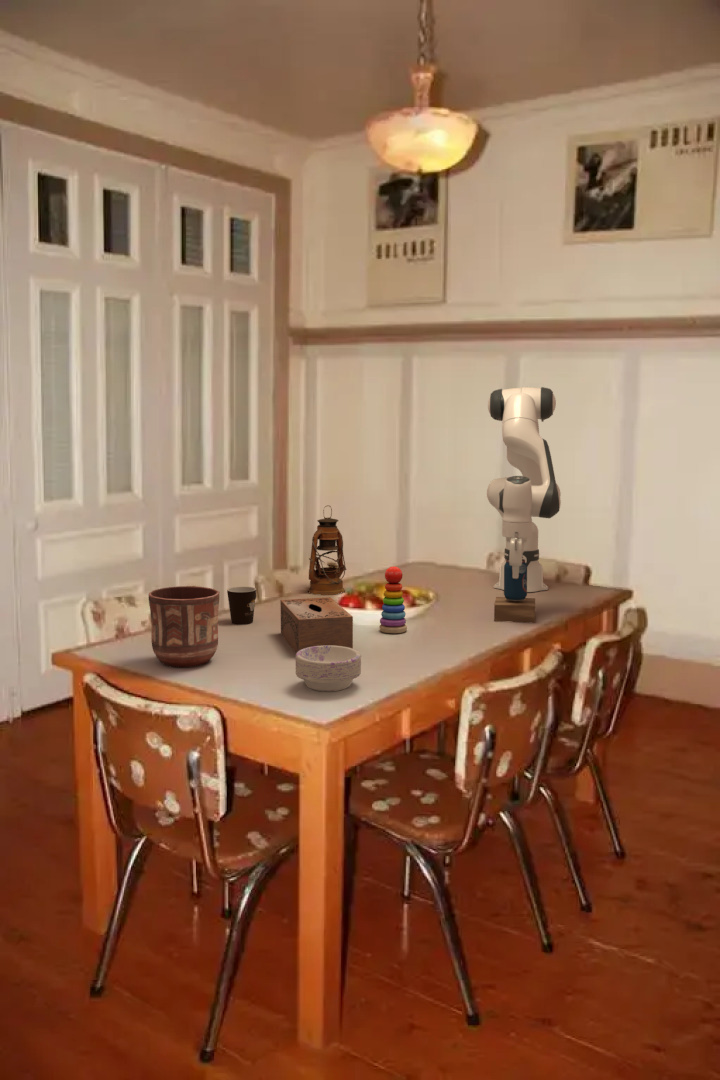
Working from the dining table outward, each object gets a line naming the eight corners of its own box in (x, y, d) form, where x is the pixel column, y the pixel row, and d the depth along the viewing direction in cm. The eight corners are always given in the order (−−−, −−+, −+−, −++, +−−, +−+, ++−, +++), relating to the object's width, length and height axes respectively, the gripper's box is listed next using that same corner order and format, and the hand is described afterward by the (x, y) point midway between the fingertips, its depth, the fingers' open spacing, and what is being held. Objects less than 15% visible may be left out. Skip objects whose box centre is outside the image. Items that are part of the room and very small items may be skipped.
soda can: (529, 601, 294) (529, 562, 292) (506, 601, 294) (506, 562, 292) (524, 596, 301) (524, 557, 299) (502, 596, 301) (502, 558, 299)
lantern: (330, 585, 349) (330, 502, 344) (356, 590, 340) (356, 504, 335) (295, 592, 336) (294, 505, 332) (322, 597, 328) (321, 508, 323)
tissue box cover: (280, 634, 278) (280, 599, 276) (330, 631, 282) (330, 597, 280) (299, 657, 253) (298, 619, 252) (352, 653, 257) (352, 616, 256)
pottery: (152, 673, 237) (151, 601, 235) (147, 655, 254) (145, 587, 251) (225, 668, 242) (224, 597, 240) (215, 651, 259) (214, 584, 256)
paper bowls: (346, 699, 218) (346, 664, 216) (284, 691, 223) (284, 657, 222) (370, 680, 232) (370, 648, 230) (312, 674, 237) (311, 642, 236)
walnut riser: (495, 612, 305) (496, 596, 304) (534, 614, 303) (535, 598, 302) (494, 621, 293) (494, 604, 292) (534, 622, 291) (535, 606, 290)
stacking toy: (411, 633, 278) (412, 568, 276) (385, 635, 275) (386, 570, 273) (400, 626, 286) (400, 563, 283) (375, 629, 283) (375, 565, 280)
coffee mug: (237, 626, 285) (237, 593, 284) (222, 621, 292) (221, 589, 291) (270, 621, 293) (270, 588, 291) (254, 616, 299) (254, 584, 298)
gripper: (527, 535, 283) (525, 582, 285) (527, 526, 303) (526, 570, 305) (505, 535, 285) (504, 581, 287) (507, 525, 304) (506, 569, 307)
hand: (515, 575), depth 296 cm, fingers closed on soda can, 6 cm apart
